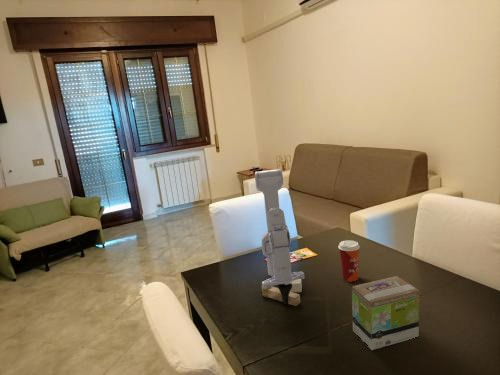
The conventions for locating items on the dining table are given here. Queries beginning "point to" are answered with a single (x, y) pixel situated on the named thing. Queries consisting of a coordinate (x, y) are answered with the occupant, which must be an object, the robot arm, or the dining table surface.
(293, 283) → the block
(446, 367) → the dining table surface
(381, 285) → the tea box
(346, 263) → the paper cup
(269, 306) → the dining table surface
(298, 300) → the leg
